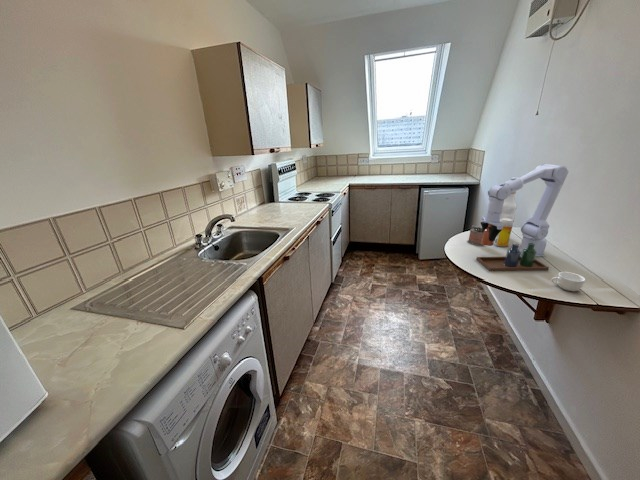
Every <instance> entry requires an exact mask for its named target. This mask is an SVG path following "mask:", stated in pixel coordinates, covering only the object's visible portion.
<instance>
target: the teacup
mask: <svg viewBox="0 0 640 480" xmlns="http://www.w3.org/2000/svg"><path fill="white" fill-rule="evenodd" d="M554 279H556V281H554ZM550 280H551V282H552V283H553V284H556V285H557V286H559V287H560V288H561V289H562V290H564V291H567V292H576V291H579V290H581V288H583V285H584V284H585V282H586V278H585V277H584V276H582V275H581V274H577V273H575V272H571V271H560V272H558V275H557V276H553V277H552V278H551V279H550Z"/></svg>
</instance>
